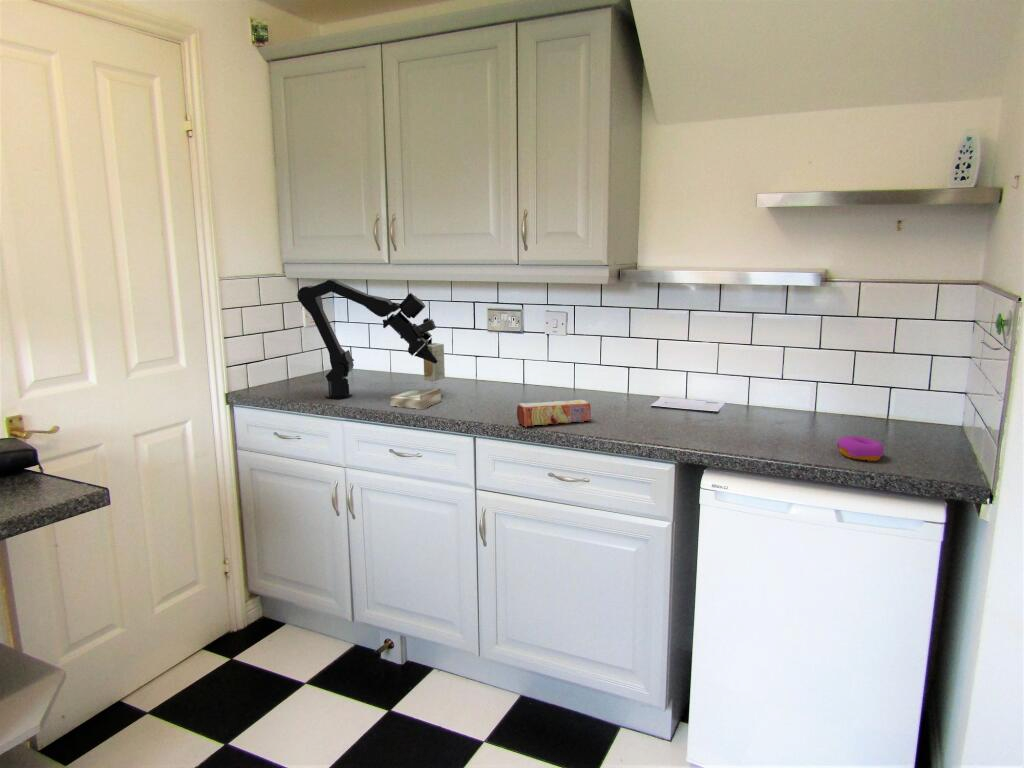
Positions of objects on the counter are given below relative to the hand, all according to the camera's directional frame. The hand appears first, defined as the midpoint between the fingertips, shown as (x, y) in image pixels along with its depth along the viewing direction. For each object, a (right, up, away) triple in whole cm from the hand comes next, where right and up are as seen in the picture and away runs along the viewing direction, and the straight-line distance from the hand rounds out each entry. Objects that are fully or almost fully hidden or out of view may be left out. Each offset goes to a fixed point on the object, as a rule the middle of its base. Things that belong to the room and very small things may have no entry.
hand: (438, 360), depth 237 cm
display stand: (-6, -14, -8) cm, 18 cm away
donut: (+110, -26, -66) cm, 131 cm away
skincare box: (-1, -7, +1) cm, 7 cm away
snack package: (+37, -20, -33) cm, 54 cm away
